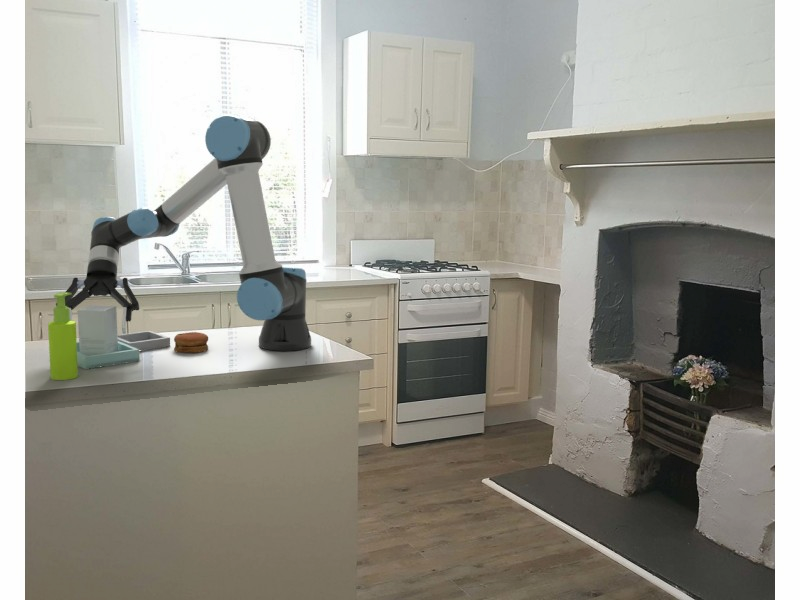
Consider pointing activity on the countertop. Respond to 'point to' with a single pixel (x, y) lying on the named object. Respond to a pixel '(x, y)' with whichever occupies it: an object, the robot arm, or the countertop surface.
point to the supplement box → (97, 330)
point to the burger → (191, 342)
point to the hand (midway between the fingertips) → (95, 331)
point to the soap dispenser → (62, 342)
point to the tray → (108, 357)
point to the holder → (144, 340)
